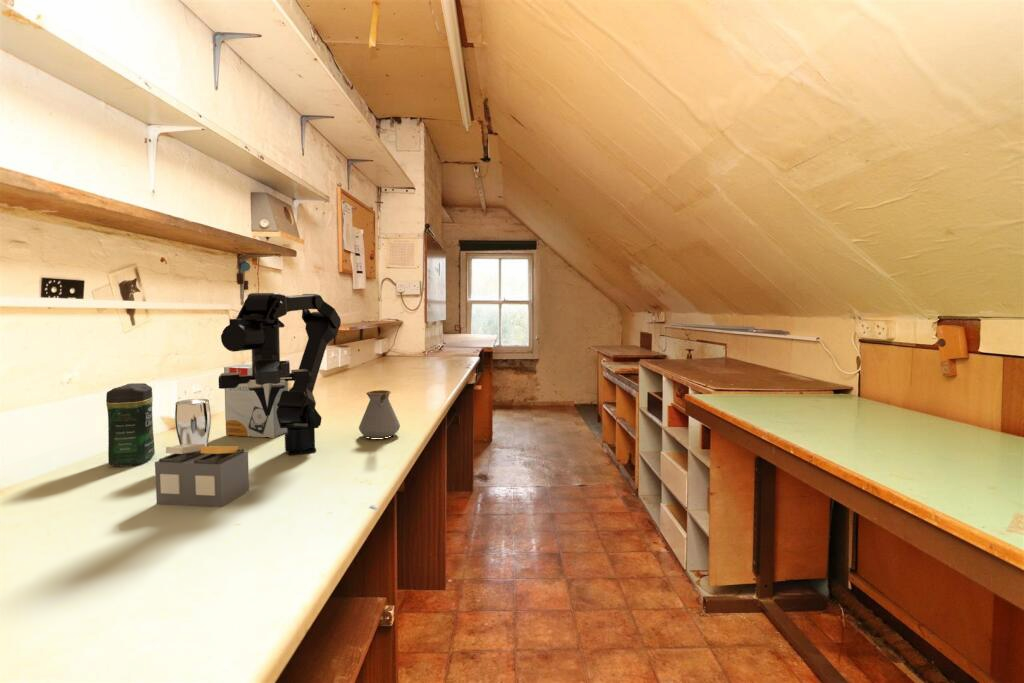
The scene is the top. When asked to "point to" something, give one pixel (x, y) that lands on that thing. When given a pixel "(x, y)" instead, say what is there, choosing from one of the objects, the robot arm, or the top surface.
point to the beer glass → (193, 421)
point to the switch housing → (201, 478)
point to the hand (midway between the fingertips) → (267, 415)
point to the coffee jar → (130, 424)
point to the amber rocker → (219, 449)
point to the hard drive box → (250, 409)
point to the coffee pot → (379, 416)
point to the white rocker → (184, 448)
